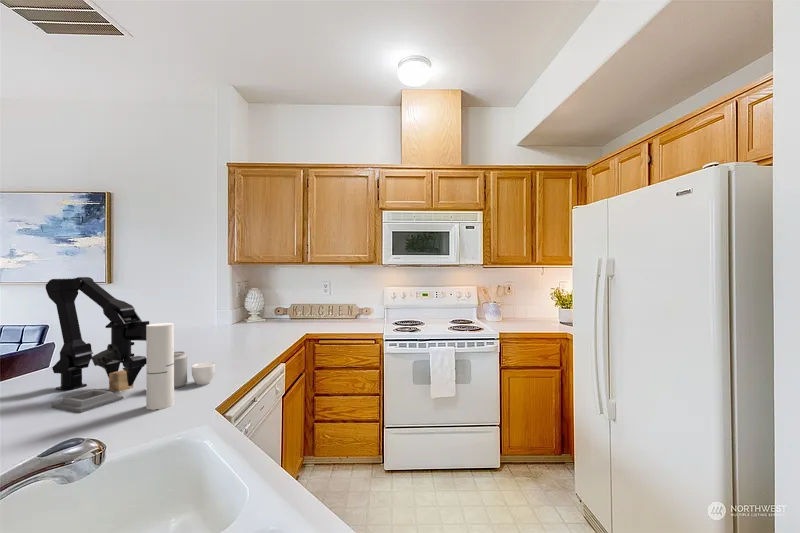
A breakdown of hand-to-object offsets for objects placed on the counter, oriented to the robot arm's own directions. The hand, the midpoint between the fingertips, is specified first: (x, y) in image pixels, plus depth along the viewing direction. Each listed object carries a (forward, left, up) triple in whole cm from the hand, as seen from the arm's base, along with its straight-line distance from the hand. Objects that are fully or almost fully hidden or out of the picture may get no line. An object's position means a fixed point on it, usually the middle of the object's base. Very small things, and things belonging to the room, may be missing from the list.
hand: (121, 384), depth 132 cm
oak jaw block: (0, 0, -2) cm, 2 cm away
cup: (+21, +15, -2) cm, 26 cm away
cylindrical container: (+29, -7, -2) cm, 30 cm away
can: (+15, +9, -2) cm, 18 cm away
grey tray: (+5, -13, -2) cm, 14 cm away
